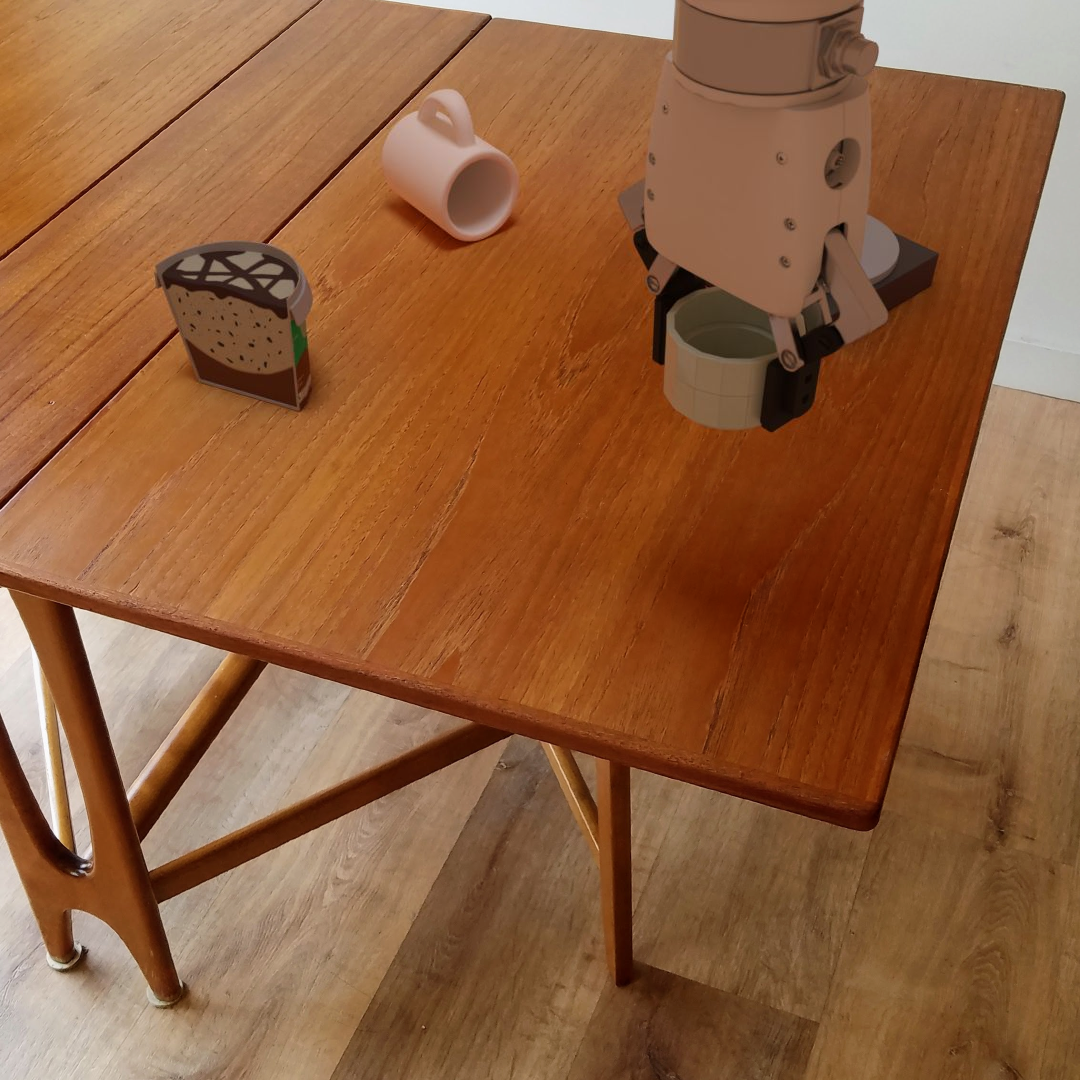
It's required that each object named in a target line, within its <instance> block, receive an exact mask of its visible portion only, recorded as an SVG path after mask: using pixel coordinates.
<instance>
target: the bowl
mask: <svg viewBox="0 0 1080 1080" xmlns="http://www.w3.org/2000/svg"><path fill="white" fill-rule="evenodd" d="M796 321H797V325H798V329H799V333H800V337H801V336H803V335H804V334H806V329H805V323H804V317H803V315H802V314H800V315H799V316H797V317H796ZM776 358H778V354H777V350H776V346H775V342H774V338H773V335H772V331H771V327H770V323H769V319H768V316H767V312H766V311H764V310H762V309H760V308H758V307H756V306H754V305H752V304H750V303H748V302H746V301H744V300H742V299H740V298H738V297H736V296H734V295H732V294H730V293H728V292H727V291H725V290H723V289H721V288H719V287H717V286H715V287H711V288H710V287H706V289H701V290H696V291H694V292H692V293H690V294H688V295H687V296H685V297H683V298H681V299H679V300H678V301H676V303H675V304H674V305H673V307H672V308H671V309H670V311H669V312H668V313H667V318H666V338H665V357H664V365H663V377H662V379H663V381H662V382H663V383H662V385H663V386H662V387H663V388H662V392H663V395H664V396H665V398H666V399H667V401H668V402H669V404H670V405H671V407H672V408H673V409H674V410H675V411H676V412H678V413H680V414H681V415H683V416H685V417H686V418H687V419H689V420H691V421H692V422H694V423H696V424H699V425H701V426H703V427H707V428H711V429H715V430H721V431H722V430H723V431H742V430H750V429H754V428H758V427H760V426H761V423H760V417H761V409H762V401H763V393H764V386H765V378H766V370H767V366H768V364H769V363H770V362H771V361H773V360H774V359H776Z"/></svg>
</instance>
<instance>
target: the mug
mask: <svg viewBox="0 0 1080 1080" xmlns="http://www.w3.org/2000/svg"><path fill="white" fill-rule="evenodd" d="M440 106H441V108H443V110H444V111H445V112H446V114H447V115H446V114H445V113H443V112H441V111H439V108H440ZM380 165H381V166H380V167H381V171H382V176H383V178H384V180H385V182H386V184H387V185H388V187H389V188H390V189H391V190H392V191H393V192H394V193H395V194H397V195H398V196H399V197H400V198H402V199H403V200H405V202H407V203H408V204H409V205H411V207H414V208H415V209H416V210H417V211H419V212H420V213H421V214H423V215H424V216H425V217H427V218H428V219H429V220H430V221H432V222H433V223H434V224H436V225H437V226H438V227H440V228H441V230H443V231H445V232H447V234H449V235H450V236H451V237H452V238H454V239H457V240H459V241H462V242H476V241H481V240H483V239H485V238H488V237H490V236H492V235H493V234H495V233H496V232H497V231H498V230H499V229H500V228H502V226H504V224H505V223H506V222H507V220H508V219H509V217H510V216H511V214H512V212H513V211H514V209H515V206H516V203H517V200H518V196H519V189H520V181H519V174H518V170H517V168H516V165H515V164H514V162H513V160H511V158H510V157H509V155H507V154H506V153H504V152H502V151H501V150H499V149H498V148H497V147H495V146H493V145H491V144H490V143H488V142H487V141H486V140H484V139H483V138H481V137H479V136H478V135H476V134H475V128H474V123H473V119H472V115H471V112H470V109H469V106H468V104H467V102H466V100H465V98H464V97H463V96H462V94H461V92H459V91H457V90H455V89H451V88H443V89H442V88H441V89H438V90H435V91H433V92H431V93H430V94H428V95H427V96H426V97H425V98H424V99H423V100H422V102H421V103H420V105H419V107H418V110H415V111H412V112H410V113H408V114H407V115H405V116H403V117H402V118H400V120H398V122H397V123H395V125H394V126H393V127H392V128H391V129H390V131H389V133H388V134H387V136H386V139H385V141H384V144H383V147H382V150H381V157H380Z"/></svg>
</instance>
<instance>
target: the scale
mask: <svg viewBox="0 0 1080 1080" xmlns="http://www.w3.org/2000/svg"><path fill="white" fill-rule="evenodd" d="M939 256H940V253H938V251H935V250H933V249H931V248H929V247H926V246H925V245H922V244H920V243H918V242H915V241H914V240H912V239H909V238H908V237H905V236H903V235H901V234H898V233H896V232H894V231H892V230H891V229H890V227H888V226H887V225H886V224H885V223H883V222H882V221H880V220H879V219H877V218H876V217H874V216H872V215H870V214H868V213H867V220H866V229H865V236H864V243H863V250H862V256H861V262H860V264H861V266H862V268H863V270H864V271H865V273H866V275H867V276H868V278H869V280H870V282H871V283H872V285H873V287H874V288H875V290H876V292H877V294H878V295H879V297H880V299H881V300H882V302H883V304H884V306H885V307H886V309H887V312H888V311H890V310H891V309H893V308H895V307H897V306H899V305H900V304H902V303H903V302H905V301H907V300H908V299H910V298H912V297H913V296H915V295H918V294H919V293H921V292H922V291H923V290H925V289H928V288H929V287H931V286H932V285H933V280H934V276H935V272H936V269H937V265H938V260H939ZM695 276H696V277H698V276H697V275H695ZM696 277H695V278H696ZM823 285H824V289H825V294H826V298H827V302H828V306H829V310H830V314H831V318H832V321H834V320H837V319H838V318H839V316H840V310H839V308H838V306H837V304H836V302H835V301H834V299H833V297H832V295H831V294H830V292H829V290H828V289H827V287H826V285H825V284H823ZM705 286H706V287H707V288H711V287H715V285H713V284H712V283H710V282H708V281H706V282H705ZM801 314H802V315H803V312H801ZM803 317H804V316H803ZM804 323H805V320H804ZM805 329H806V334H807V333H808V332H807V328H806V324H805Z"/></svg>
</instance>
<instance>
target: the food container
mask: <svg viewBox="0 0 1080 1080" xmlns="http://www.w3.org/2000/svg"><path fill="white" fill-rule="evenodd" d="M154 268H155V271H154V283H155V289H157V290H160V289H161V288H162V290H163V292H164V296H165V298H166V300H167V303H168V306H169V308H170V312H171V314H172V316H173V319H174V321H175V325H176V327H177V330H178V333H179V336H180V337H181V341H182V343H183V345H184V348H185V351H186V354H187V356H188V359H189V361H190V364H191V367H192V369H193V372H194V375H195V377H196V380H197V382H198V383H200V384H203V385H208V386H211V387H215V388H217V389H222V390H225V391H228V392H232V393H234V394H239V395H242V396H245V397H249V398H251V399H255V400H259V401H261V402H266V403H269V404H271V405H275V406H279V407H281V408H285V409H289V410H293V411H296V412H299V413H301V411H303V409H304V408H305V407H306V406H307V404H308V402H309V399H310V396H311V393H312V390H313V388H312V377H311V366H310V353H309V342H308V330H307V318H308V316H309V314H310V312H311V309H312V307H313V302H314V296H313V291H312V288H311V286H310V283H309V281H308V278H307V276H306V274H305V272H304V270H303V269H302V267H301V265H299V263H297V261H296V259H295V258H293V256H292V255H291V254H289V253H288V252H286V251H285V250H284V249H281V248H280V247H277V246H275V245H271V244H268V243H263V242H259V241H253V240H251V241H250V240H223V241H222V240H221V241H214V242H208V243H207V242H206V243H203V244H199V245H194V246H191V247H188V248H186V249H182V250H180V251H178V252H175V253H173V254H171V255H169V256H168V257H166V258H163V259H162V260H161V261H159V262H157V263H156V264H154Z"/></svg>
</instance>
